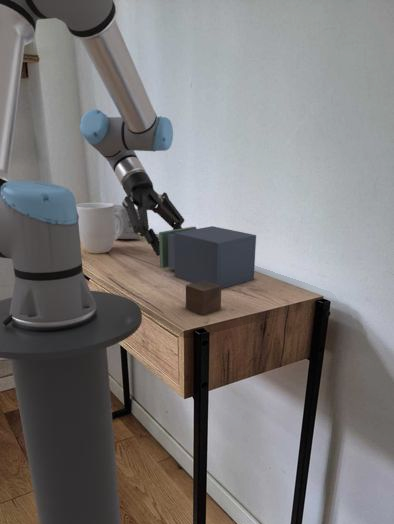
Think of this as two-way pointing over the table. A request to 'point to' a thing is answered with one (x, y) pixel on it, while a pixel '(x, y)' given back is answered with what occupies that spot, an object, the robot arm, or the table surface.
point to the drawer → (168, 247)
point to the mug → (98, 226)
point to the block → (203, 297)
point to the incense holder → (125, 224)
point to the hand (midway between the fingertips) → (173, 250)
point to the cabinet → (214, 256)
